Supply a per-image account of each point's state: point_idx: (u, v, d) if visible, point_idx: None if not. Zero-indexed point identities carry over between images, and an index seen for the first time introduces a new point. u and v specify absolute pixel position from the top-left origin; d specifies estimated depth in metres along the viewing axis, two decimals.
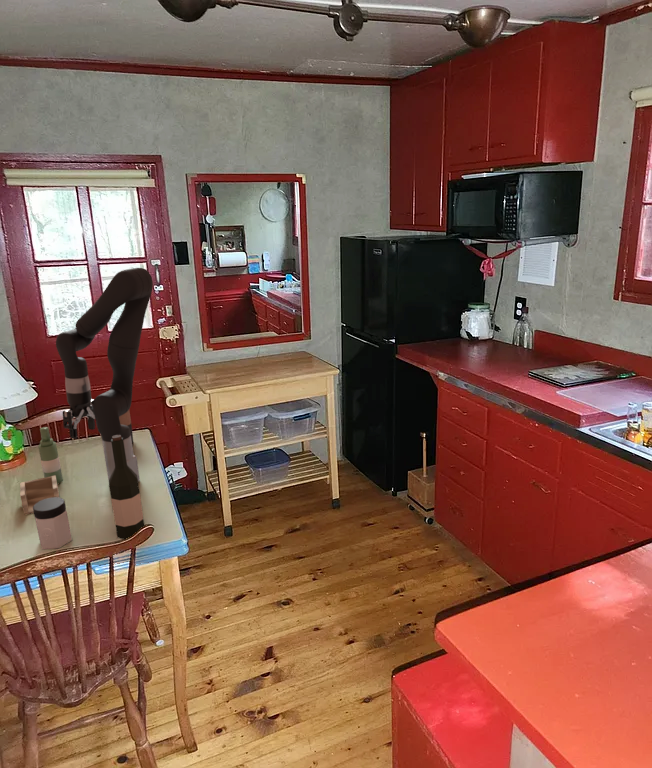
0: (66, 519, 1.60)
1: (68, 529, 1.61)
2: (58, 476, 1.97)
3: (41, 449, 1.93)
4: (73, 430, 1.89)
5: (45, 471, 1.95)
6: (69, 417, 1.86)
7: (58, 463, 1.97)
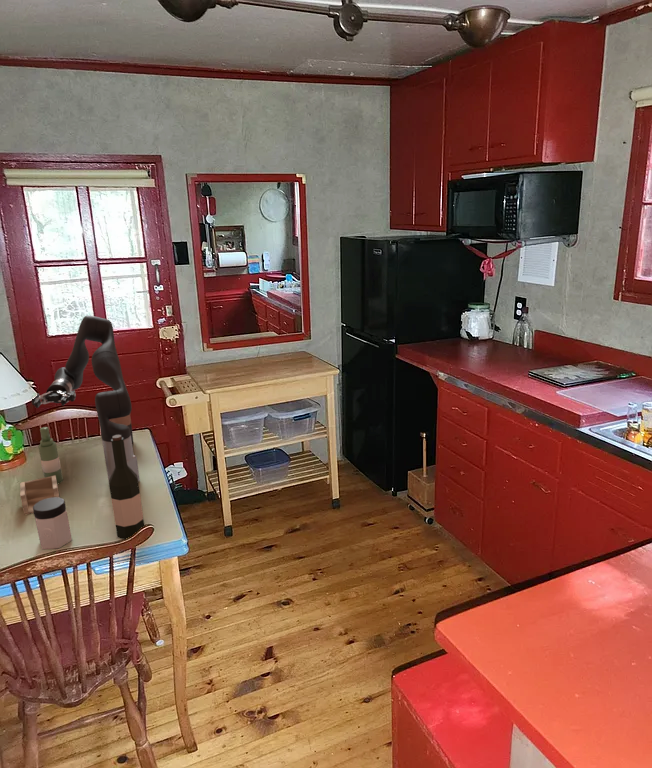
0: (66, 519, 1.60)
1: (68, 529, 1.61)
2: (58, 476, 1.97)
3: (41, 449, 1.93)
4: (36, 400, 2.04)
5: (45, 471, 1.95)
6: None
7: (58, 463, 1.97)
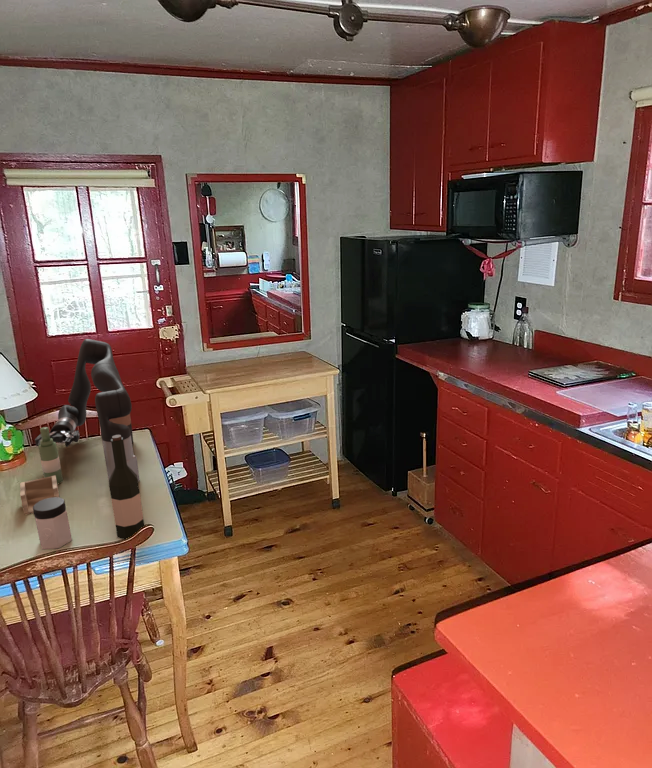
0: (66, 519, 1.60)
1: (68, 529, 1.61)
2: (58, 476, 1.97)
3: (41, 449, 1.93)
4: None
5: (45, 471, 1.95)
6: (39, 436, 2.09)
7: (58, 463, 1.97)
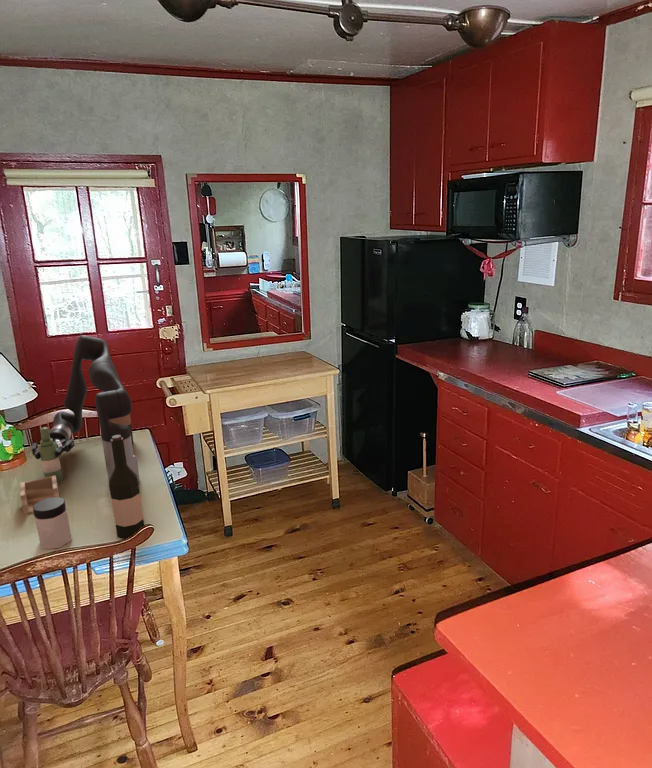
0: (66, 519, 1.60)
1: (68, 529, 1.61)
2: (58, 476, 1.97)
3: (41, 449, 1.93)
4: (37, 451, 1.96)
5: (45, 471, 1.95)
6: (33, 445, 2.00)
7: (58, 463, 1.97)
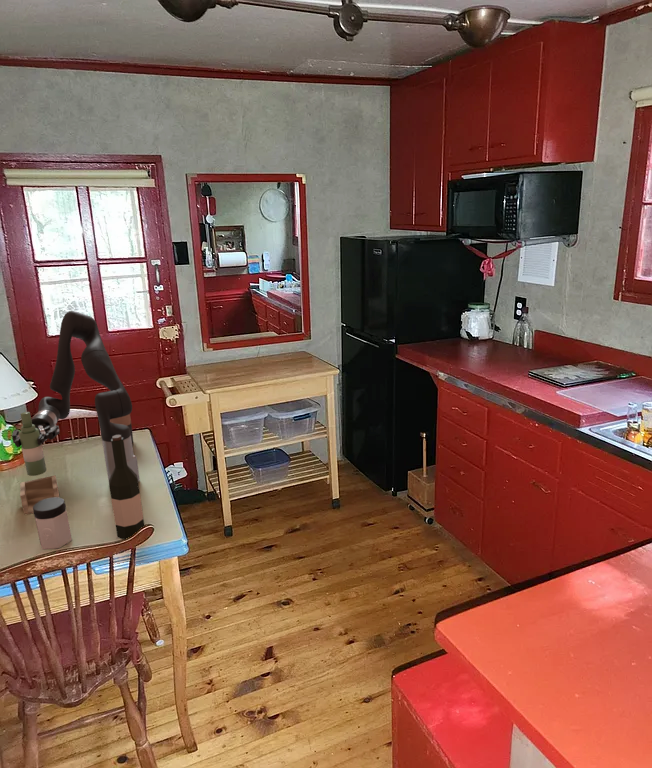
0: (66, 519, 1.60)
1: (68, 529, 1.61)
2: (40, 466, 1.80)
3: (22, 436, 1.76)
4: (17, 438, 1.79)
5: (26, 460, 1.78)
6: (14, 431, 1.83)
7: (41, 452, 1.80)
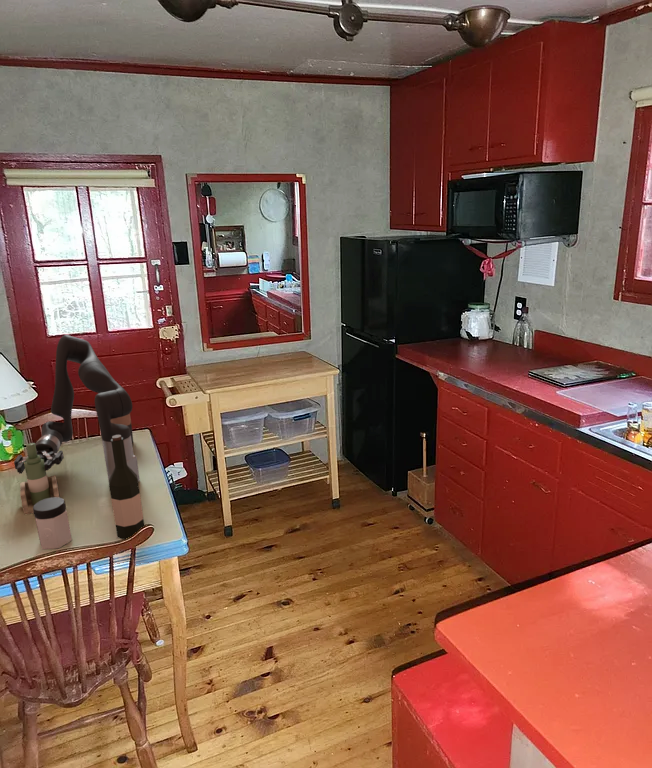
0: (66, 519, 1.60)
1: (68, 529, 1.61)
2: (45, 496, 1.82)
3: (27, 467, 1.78)
4: (19, 464, 1.80)
5: (32, 491, 1.80)
6: (17, 457, 1.85)
7: (46, 482, 1.82)
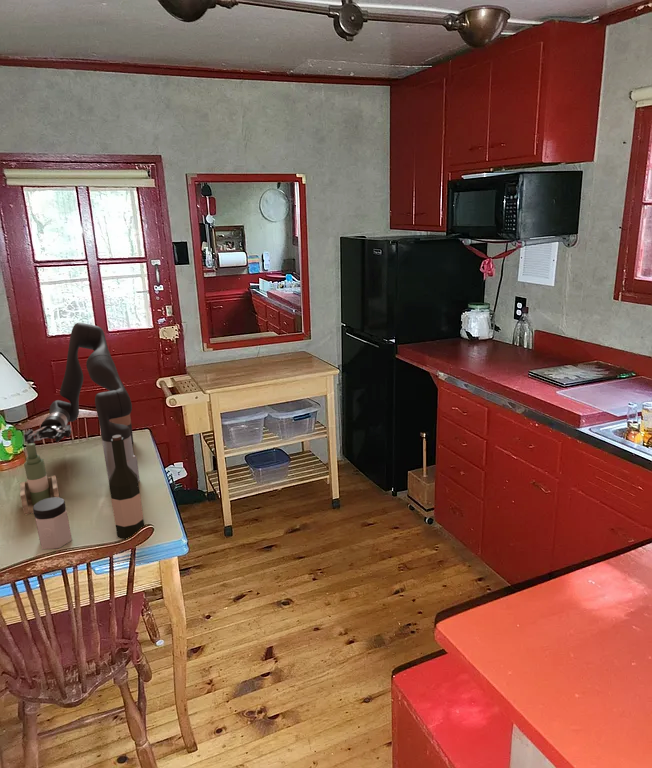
0: (66, 519, 1.60)
1: (68, 529, 1.61)
2: (45, 496, 1.82)
3: (27, 467, 1.78)
4: (29, 437, 1.93)
5: (32, 491, 1.80)
6: (28, 431, 1.98)
7: (46, 482, 1.82)
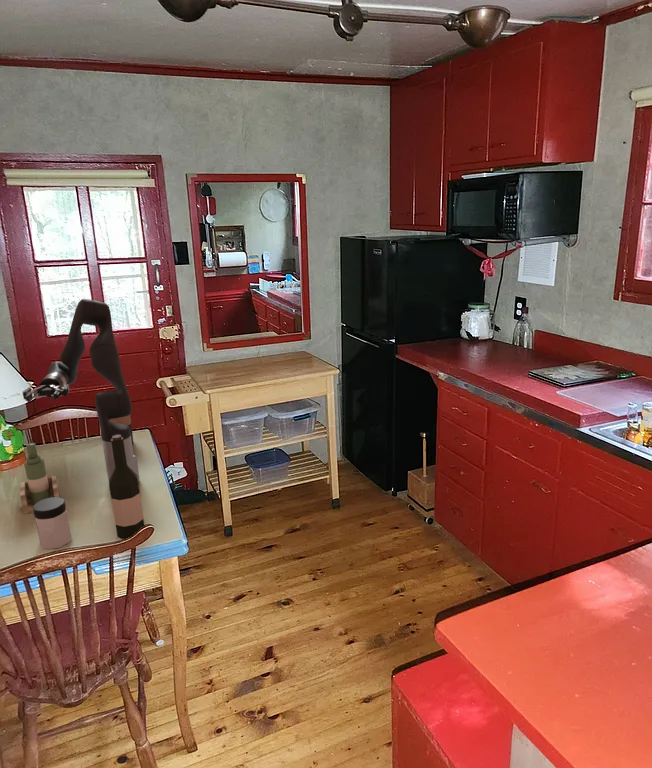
0: (66, 519, 1.60)
1: (68, 529, 1.61)
2: (45, 496, 1.82)
3: (27, 467, 1.78)
4: (28, 394, 1.95)
5: (32, 491, 1.80)
6: (27, 389, 1.99)
7: (46, 482, 1.82)
